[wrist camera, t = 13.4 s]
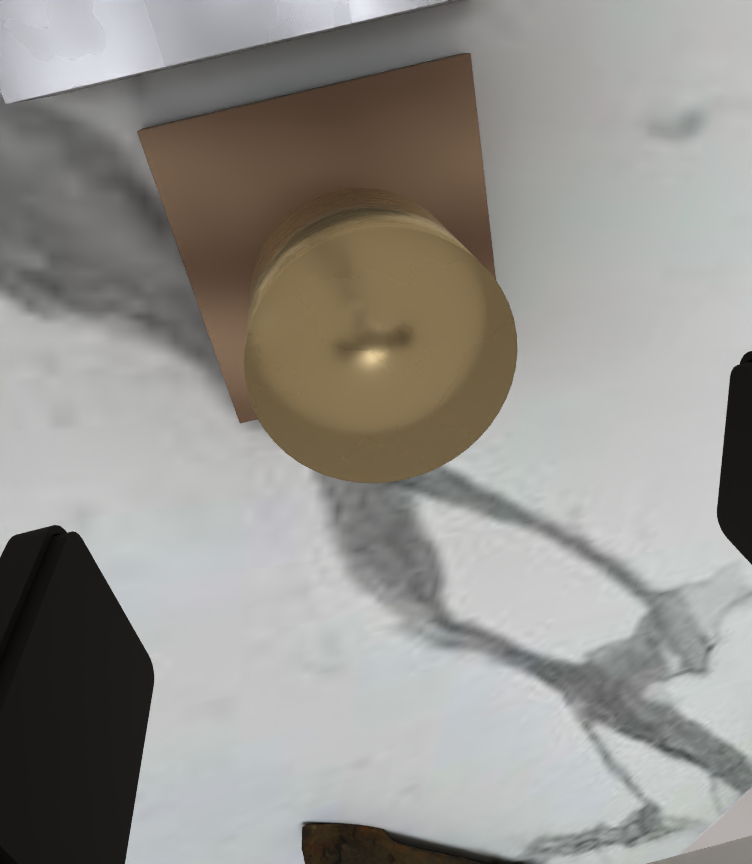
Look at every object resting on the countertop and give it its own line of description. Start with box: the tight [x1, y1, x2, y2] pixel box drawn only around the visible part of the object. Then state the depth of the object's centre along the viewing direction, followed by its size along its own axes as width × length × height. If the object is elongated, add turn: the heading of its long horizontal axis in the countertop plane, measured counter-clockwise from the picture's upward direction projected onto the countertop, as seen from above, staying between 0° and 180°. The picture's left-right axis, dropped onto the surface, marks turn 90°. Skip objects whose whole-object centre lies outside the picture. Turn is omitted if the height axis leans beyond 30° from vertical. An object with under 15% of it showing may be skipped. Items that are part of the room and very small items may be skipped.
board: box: [137, 53, 496, 423], centre depth 25 cm, size 11×11×1 cm
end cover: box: [244, 187, 517, 483], centre depth 20 cm, size 6×6×10 cm
